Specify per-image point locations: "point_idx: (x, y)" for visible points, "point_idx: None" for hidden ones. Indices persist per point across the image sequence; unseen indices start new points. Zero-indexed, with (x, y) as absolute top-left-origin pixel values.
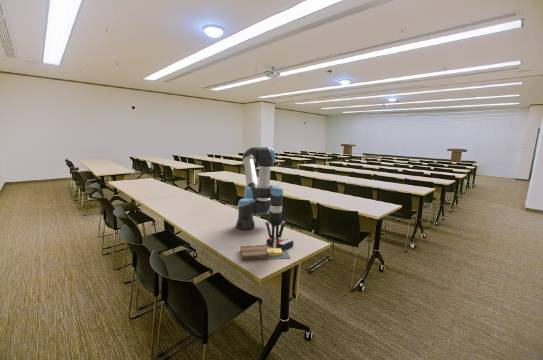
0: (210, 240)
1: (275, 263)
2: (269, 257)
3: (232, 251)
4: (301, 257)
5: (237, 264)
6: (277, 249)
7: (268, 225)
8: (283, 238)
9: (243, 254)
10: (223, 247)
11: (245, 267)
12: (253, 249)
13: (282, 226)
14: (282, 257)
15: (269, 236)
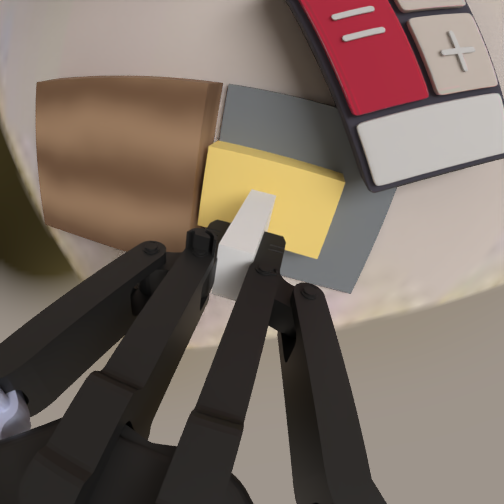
0: None
1: (225, 301)
2: None
3: (29, 85)
4: (417, 307)
5: (50, 230)
6: (301, 194)
7: (29, 414)
8: (461, 57)
9: (47, 203)
10: (8, 36)
11: (80, 267)
12: (95, 149)
13: (301, 490)
14: (299, 269)
15: (137, 293)
